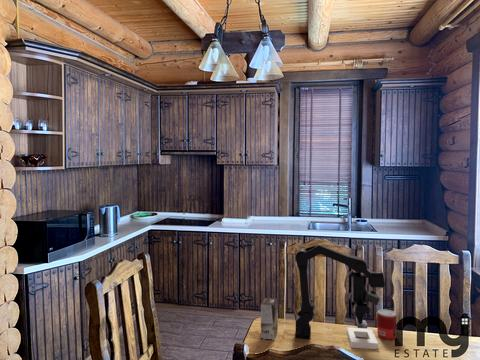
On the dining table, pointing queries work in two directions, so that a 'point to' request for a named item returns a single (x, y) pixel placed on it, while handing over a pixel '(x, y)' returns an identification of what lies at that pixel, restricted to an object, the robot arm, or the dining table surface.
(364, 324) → the bracket
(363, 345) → the well
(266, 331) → the coffee box
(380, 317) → the canned food
